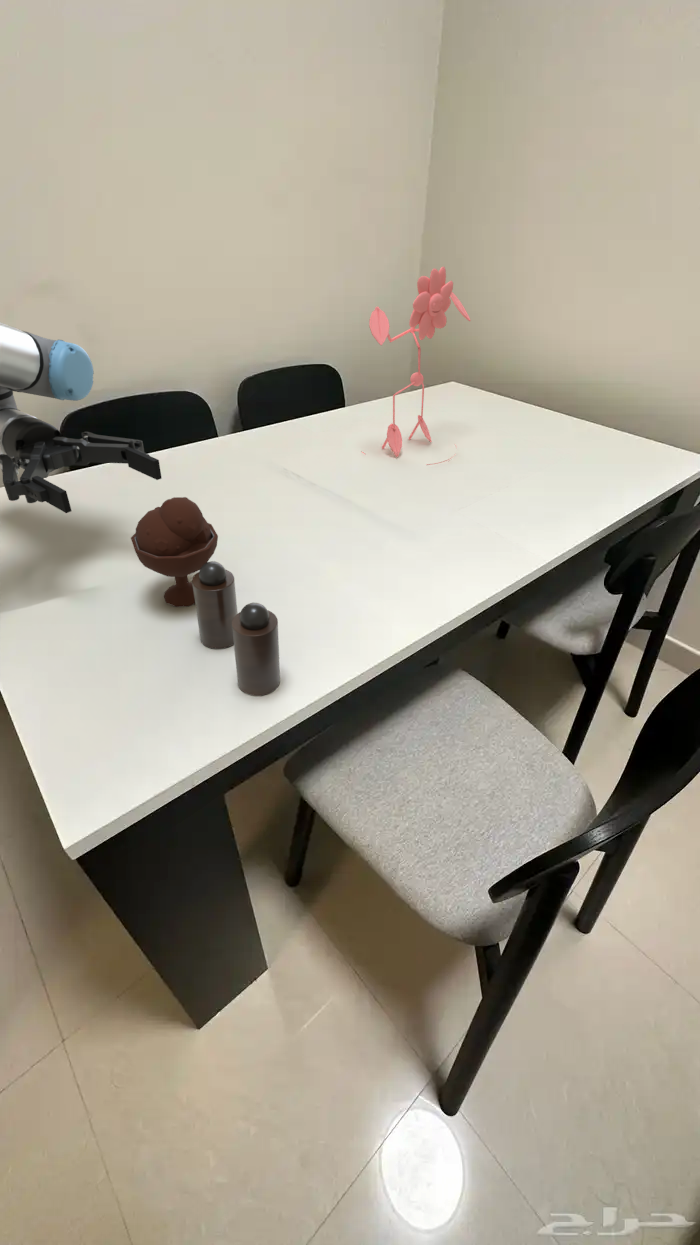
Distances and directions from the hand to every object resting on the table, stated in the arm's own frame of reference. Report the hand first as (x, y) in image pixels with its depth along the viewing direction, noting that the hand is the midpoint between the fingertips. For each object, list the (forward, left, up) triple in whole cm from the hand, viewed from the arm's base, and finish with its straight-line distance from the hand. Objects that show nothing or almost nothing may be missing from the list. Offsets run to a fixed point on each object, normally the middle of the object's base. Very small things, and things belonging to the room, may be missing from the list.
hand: (114, 485), depth 75 cm
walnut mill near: (+4, -28, -15) cm, 32 cm away
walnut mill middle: (+4, -18, -15) cm, 24 cm away
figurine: (+69, +15, -15) cm, 72 cm away
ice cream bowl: (+4, -7, -15) cm, 17 cm away
